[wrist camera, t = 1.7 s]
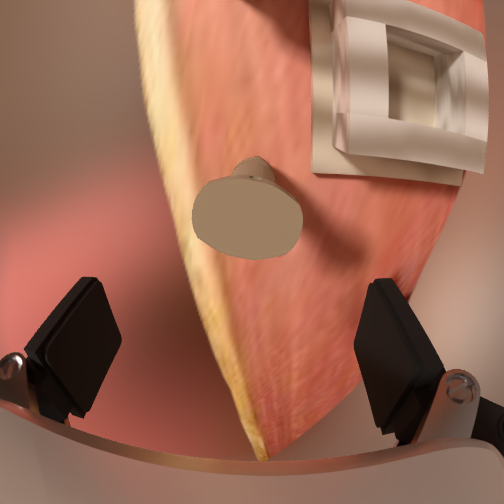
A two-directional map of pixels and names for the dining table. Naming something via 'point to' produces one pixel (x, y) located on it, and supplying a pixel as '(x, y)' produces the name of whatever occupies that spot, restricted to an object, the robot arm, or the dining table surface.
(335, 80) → the socket holder
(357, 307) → the dining table surface
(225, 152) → the dining table surface
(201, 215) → the handle
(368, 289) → the robot arm
